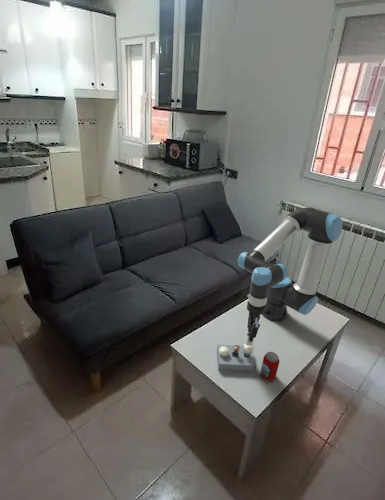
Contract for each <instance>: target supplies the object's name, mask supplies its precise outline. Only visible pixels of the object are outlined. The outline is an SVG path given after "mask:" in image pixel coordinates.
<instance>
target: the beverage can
mask: <svg viewBox="0 0 385 500" xmlns="http://www.w3.org/2000/svg"><path fill="white" fill-rule="evenodd" d="M279 365H280V358H279V355H278V354H277V353H275V352H273V351H268V352H266V353H265V354H264V355H263V359H262V364H261V369H260V377H261V378H262V379H263V380H265V381H268V382H273V381H275V380H276V378H277V373H278V370H279Z"/></svg>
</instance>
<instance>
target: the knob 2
mask: <svg viewBox="0 0 385 500" xmlns="http://www.w3.org/2000/svg"><path fill="white" fill-rule="evenodd" d="M243 346H244V349H243V350H244V351H245V352H246V355H247V356H249V353H252V354H253V352H254V348H255V347H254V345H252V346H246V343H244V344H243Z"/></svg>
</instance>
